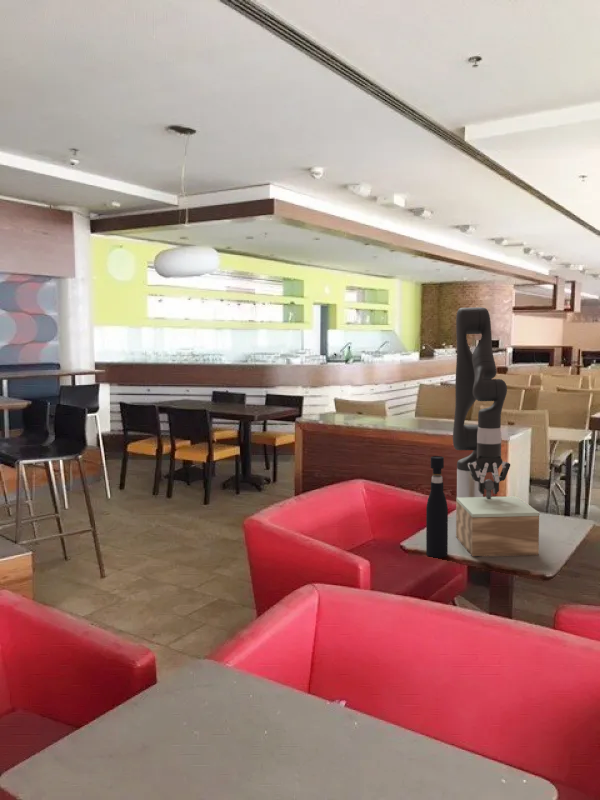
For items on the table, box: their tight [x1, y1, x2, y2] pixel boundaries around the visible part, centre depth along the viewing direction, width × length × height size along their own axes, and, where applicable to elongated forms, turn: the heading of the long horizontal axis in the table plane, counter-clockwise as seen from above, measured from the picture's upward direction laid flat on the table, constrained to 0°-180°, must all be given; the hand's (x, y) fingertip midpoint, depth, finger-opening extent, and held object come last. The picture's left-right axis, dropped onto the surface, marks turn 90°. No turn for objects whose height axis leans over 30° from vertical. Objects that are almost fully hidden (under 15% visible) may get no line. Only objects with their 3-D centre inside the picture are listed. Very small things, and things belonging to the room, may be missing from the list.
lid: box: [455, 478, 540, 517], centre depth 216 cm, size 20×20×7 cm
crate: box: [455, 500, 540, 557], centre depth 217 cm, size 20×20×12 cm
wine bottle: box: [425, 455, 449, 559], centre depth 209 cm, size 6×6×30 cm
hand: (488, 493), depth 224 cm, fingers closed on lid, 3 cm apart
